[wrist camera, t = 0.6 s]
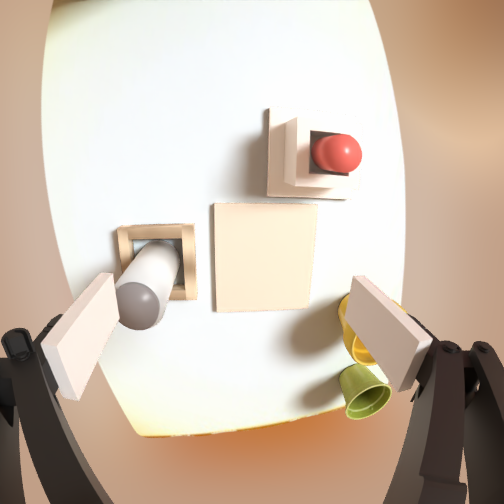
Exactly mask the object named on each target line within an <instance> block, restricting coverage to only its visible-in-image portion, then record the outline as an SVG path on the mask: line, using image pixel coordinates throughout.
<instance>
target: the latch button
mask: <svg viewBox="0 0 504 504" xmlns="http://www.w3.org/2000/svg"><path fill="white" fill-rule="evenodd" d="M311 156H312V160H313V162H314V163H315V165H316V166H318V167H319V168H321V169H323V170H328V171H335V172H342V173H349V172H352V171H354V170H355V169H356V168H357V167H358V166H359V164H360V162H361V159H362V151H361V147H360V145H359V143H358V142H357V140H356V139H354V138H353V137H352V136H350V135H346V134H340V135H333V136H327V137H322V138H319V139H318V140H317V141H315V143H314V144H313V146H312V149H311Z"/></svg>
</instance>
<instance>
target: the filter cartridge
mask: <svg viewBox="0 0 504 504" xmlns="http://www.w3.org/2000/svg"><path fill="white" fill-rule="evenodd" d="M179 266H180V257H179V254H178V252H177V250H176V249H175V247H174V246H173V245H171V244H170V243H168V242H166V241H162V240H154V241H151V242H149V243H147V244H146V245H145V246H144V247H143V248H142V250H141V251H140V252H139V253H138V255H137V256H136V257H135V259H134V260H133V261H132V262H131V264H130V265H129V266H128V268H127V269H126V270H125V272H124V273H123V274H122V275H121V277H120V278H119V279H118V281H117V282H116V284H115V285H114V286H115V293H116V299H117V306H118V311H119V317H120V318H119V320H118V321H119V322H120V323H121V324H122V325H124V326H126V327H128V328H130V329H133V330H145V329H148V328H151V327H153V326H155V325H157V324H158V323H159V322H160V321H161V319H162V318H163V315H164V312H165V309H166V306H167V303H168V300H169V296H170V293H171V290H172V287H173V284H174V281H175V278H176V275H177V272H178V269H179Z"/></svg>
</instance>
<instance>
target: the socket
mask: <svg viewBox="0 0 504 504" xmlns="http://www.w3.org/2000/svg"><path fill="white" fill-rule="evenodd" d="M117 233H118V243H119V251H120V259H121V267H122V274H123V273H124V272H125V270H126V269H127V268H128V266H129V265H130V264H131V262H132V261H133V260H134V259H135V257H134V248H133V239H170V238H182V245H183V263H184V277H185V284H174V285H173V287H172V290H171V293H170V296H169V300H197V294H198V292H197V274H196V254H195V227H194V223H188V224H149V225H122V226H120V227H119V228H118V229H117Z"/></svg>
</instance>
